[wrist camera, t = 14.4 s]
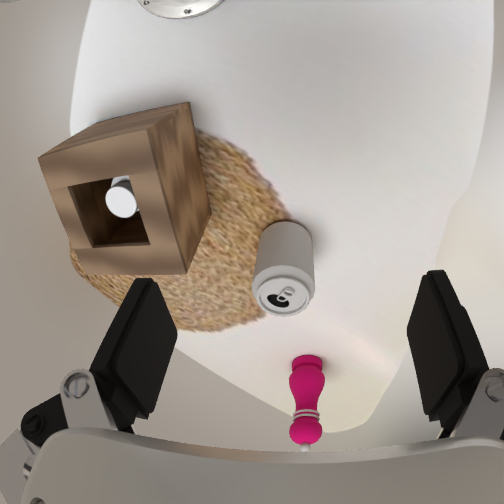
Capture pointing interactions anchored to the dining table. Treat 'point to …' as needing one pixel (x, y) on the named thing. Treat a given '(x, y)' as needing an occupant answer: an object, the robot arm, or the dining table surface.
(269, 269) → the can
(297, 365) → the pepper mill
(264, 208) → the dining table surface
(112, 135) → the drop box
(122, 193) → the supplement bottle
